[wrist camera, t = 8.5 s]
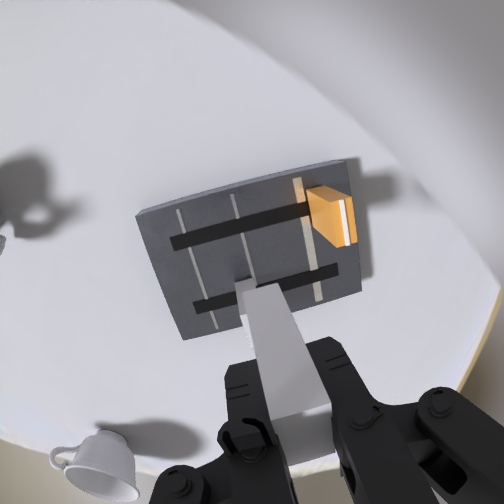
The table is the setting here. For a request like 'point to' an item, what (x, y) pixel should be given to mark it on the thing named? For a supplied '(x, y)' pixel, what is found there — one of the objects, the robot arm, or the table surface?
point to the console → (247, 247)
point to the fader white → (240, 288)
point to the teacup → (101, 467)
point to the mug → (2, 243)
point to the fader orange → (332, 215)
